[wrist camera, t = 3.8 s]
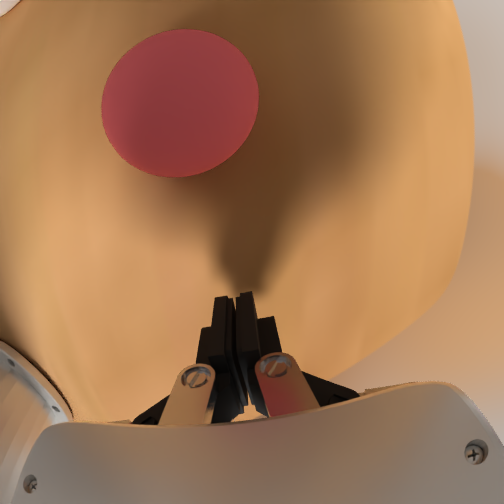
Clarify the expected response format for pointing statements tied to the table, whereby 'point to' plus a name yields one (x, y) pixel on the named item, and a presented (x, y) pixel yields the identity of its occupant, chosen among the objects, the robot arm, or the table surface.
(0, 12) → the drinking glass
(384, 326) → the table surface
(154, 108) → the ball
